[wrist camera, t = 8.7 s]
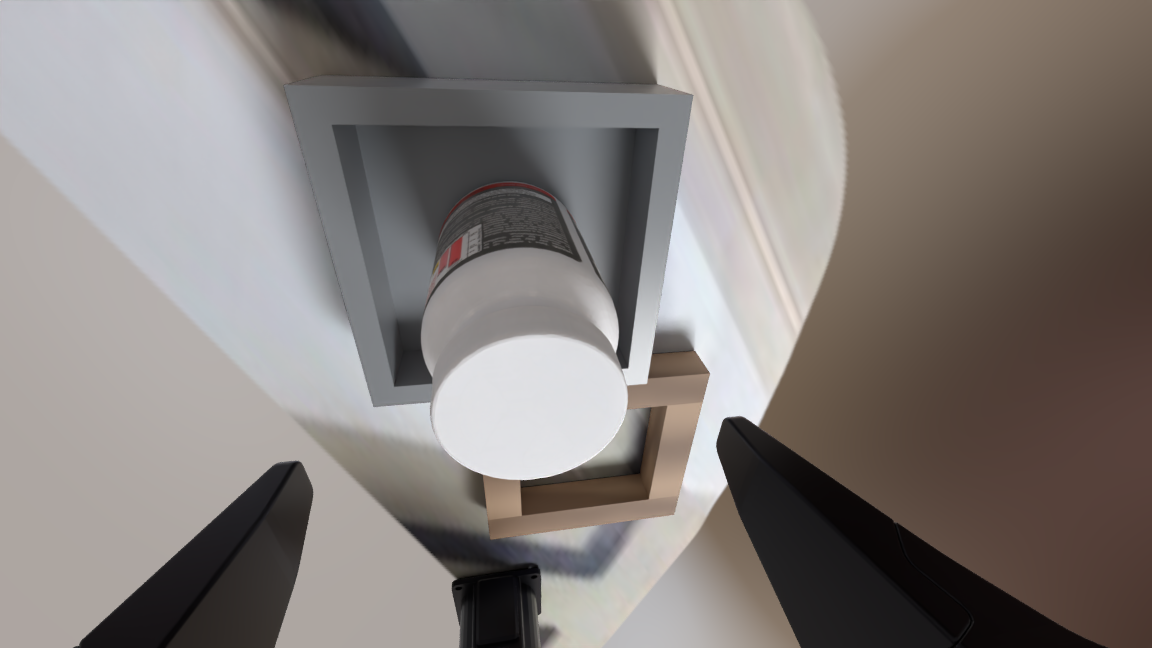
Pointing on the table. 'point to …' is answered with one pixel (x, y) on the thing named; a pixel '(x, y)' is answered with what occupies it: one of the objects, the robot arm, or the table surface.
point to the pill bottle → (520, 338)
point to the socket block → (617, 498)
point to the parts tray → (473, 159)
